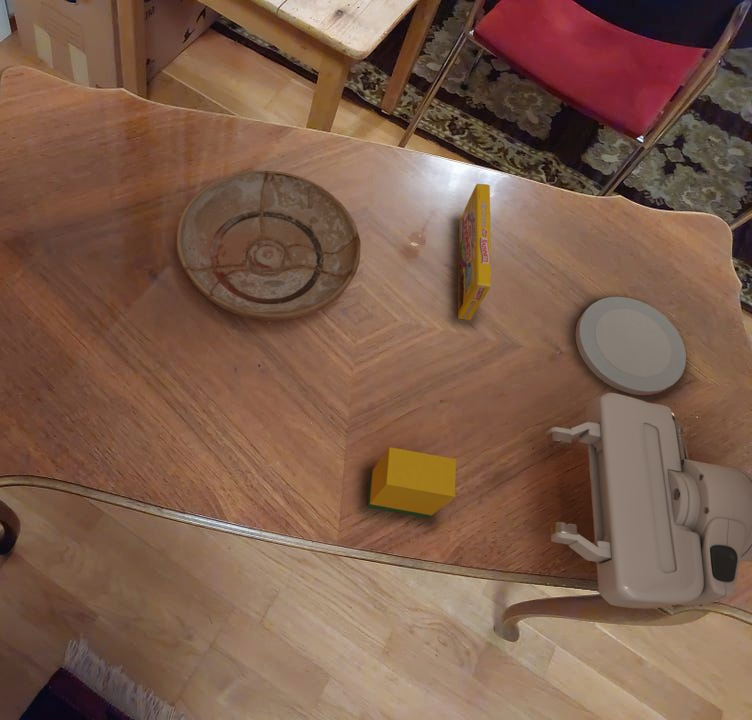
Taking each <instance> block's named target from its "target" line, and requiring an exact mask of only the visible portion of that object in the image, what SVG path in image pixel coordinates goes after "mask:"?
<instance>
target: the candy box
mask: <svg viewBox="0 0 752 720" xmlns="http://www.w3.org/2000/svg"><path fill="white" fill-rule="evenodd" d="M491 238H492V237H491V187H490V184H486V183H476V184H475V186H474V189H473V190H472V192H471V195H470V197H469V198H468V201H467V203H466V205H465V207H464V210H463V212H462V215H461V217H460V219H459V221H458V274H457V275H458V280H457V281H458V283H457V284H458V286H457V287H458V289H457V290H458V291H457V293H458V296H457V297H458V298H457V301H458V303H457V307H458V309H457V319H460V320H464V321H471V320H472V318H473V316H474V315H475V313H476V311H478V308H479V307H480V305H481V303H482V302H483V300H484V299H485V297H486V295H487V293H488V292H489V291H490V289H491V287H492V244H491V243H492V241H491Z"/></svg>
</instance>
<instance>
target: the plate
mask: <svg viewBox="0 0 752 720" xmlns="http://www.w3.org/2000/svg"><path fill="white" fill-rule="evenodd" d="M575 326H576V327H575V335H574V337H575V343H576V347H577V350H578V353H579V355H580V357H581V359H582V361H583V362H584V364H585V365H586V366H587V368H588V369H589V370H590V371H591V372H592V373H593V375H595V376H596V377H597V378H598V379H599V380H600V381H602V382H603V383H605V384H607V385H608V386H610V387H612V388H613V389H616V390H618V391H621V392H623V393H626V394H630V395H637V396H650V395H656V394H659V393H661V392H664V391H666V390H667V389H669V388H670V387H672V386H673V385H675V384H676V383H677V382H678V381H679V379H680V378H681V377H682V376H683V373H684V372H685V368H686V365H687V364H686V363H687V352H686V347H685V344H684V341H683V338H682V337H681V334H680V333H679V331H678V329H677V328H676V327H675V325H674V324H673V323H672V321H670V320H669V318H668V317H667V316H666V315H664V314H663V313H662V312H661V311H659V310H658V309H657V308H655V307H654V306H651V305H650V304H648V303H645V302H644V301H641V300H638V299H636V298H631V297H627V296H609V297H605V298H601V299H599V300H597V301H595V302H593V303H592V304H590V305H589V306H588V307H587V308H586V309H584V311H583V312H582V314H581V315H580V316H579V318H578V320H577V322H576V325H575Z"/></svg>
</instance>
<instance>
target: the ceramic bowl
mask: <svg viewBox="0 0 752 720" xmlns="http://www.w3.org/2000/svg"><path fill="white" fill-rule="evenodd" d="M179 218H180V219H179V222H178V225H177V226H178V227H177V230H176V251H177V254H178V258H179V261H180V263H181V267H182V268H183V270H184V271H185V274H186V275H187V277H188V278H189V280H190V281H191V282H192V284H193V285H194V287H195V288H197V290H198V291H199V292H200V293H201V294H202V295H204V296H205V298H207V299H208V300H209V301H210V302H212V303H213V304H215V305H216V306H218V307H220V308H222V309H223V310H225V311H228V312H230V313H233V314H235V315H238V316H242V317H245V318H248V319H253V320H258V321H267V322H269V321H271V322H275V321H276V322H278V321H289V320H295V319H299V318H304V317H306V316H310V315H312V314H314V313H316V312H318V311H321V310H322V309H324V308H326V307H328V306H329V305H330V304H332V303H333V302H334V301H336V300H337V299H338V298H339V297H340V296H341V295H342V294H343V293H344V292H345V291H346V289H347V288H348V287H349V285H351V282H352V281H353V279H354V277H355V275H356V273H357V270H358V268H359V265H360V260H361V246H362V245H361V243H362V242H361V238H360V235H359V230H358V227H357V226H356V223H355V220H354V219H353V217H352V215H351V214H350V212H349V211H348V209H347V208H346V207H345V206H344V205H343V203H342V202H340V200H338V198H336V197H335V196H334V194H332V193H330V192H329V191H328V190H327V189H325V188H324V187H323V186H321V185H319V184H317V183H315V182H314V181H311V180H309V179H307V178H304V177H301V176H299V175H297V174H296V175H295V174H291V173H288V172H283V171H276V170H249V171H241V172H236V173H232V174H230V175H226V176H223V177H221V178H219V179H216V180H215V181H213V182H211V183H209V184H207V185H206V186H204V188H202V189H201V190H200V191H199V192H197V194H196V195H194V196H193V197H192V198H191V200H190V201H189V202H188V203H187V204H186V205H185V208H184V210H183V212H182V213H181V216H180V217H179Z"/></svg>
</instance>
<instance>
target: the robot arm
mask: <svg viewBox="0 0 752 720" xmlns="http://www.w3.org/2000/svg"><path fill="white" fill-rule="evenodd" d="M584 411H585V413H584V414H585V422H583V423H581V424H578V425H575V426H573V427H571V428H564V427H559V426H553V427H550V428H549V429H547V430H546V446H547V447H549V448H553V447H554V448H556V449H559V450H564V449H566V448H567V446H569V445H571V444H572V439H576V438H577V439H578V442H579V443H582V444H586V445H587V451H588V465H589V481H590V493H591V505H592V507H591V508H592V518H593V533H594V542H591V541H590V540H588V539H587V538H585V537H584V536H582V535H581V534H579V533H578V525H577V524H575V523H570V522H569V523H566V522H564V521H555V522H554V523H552V524H550V541H551V542H553V543H556V544H563V545H568V547H569V548H570V549H572V550H573V551H574V552H575V553H577V554H578V555H579V556H580V557H582V558H583V559H584V560H585V561H589V562H595V563H596V573H597V588H598V594H599V595H600V597H602V598H603V599H604V600H605V601H606V602H607V603H608V604H609V605H611V606H614V607H620V608H629V609H641V610H642V609H644V610H645V609H648V610H650V609H652V610H653V609H661V608H667V607H672V606H677V605H679V606H702V605H707V604H712V603H716V602H719V601H721V600H724V599H727V598H730V597H731V596H733V595H734V594H735V592H736V589H737V582H738V575H739V568H740V563H741V562H743V561H745V562H749V563H752V474H751V473H750V472H747V471H745V470H742V469H740V468H735V467H731V466H725V465H719V464H715V463H709V462H703V461H699V460H698V461H697V460H692V459H689V453H688V448H687V444H686V440H685V428H684V424H683V421H682V420H680V419H678V417H677V415H676V414H675V412H674V411H672V409H671V407H668V406H667V405H665V404H664V405H663V404H659V403H654V402H648V401H645V400H642V399H639V398H637V397H632V396H628V395H625V394H620V393H616V392H606V393H603V394H602V395H600V396H599V397H597V398H595V399H594V400H593V401H592V402H591V403H590V404H588V405H587V407H586V408H585V410H584Z"/></svg>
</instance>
